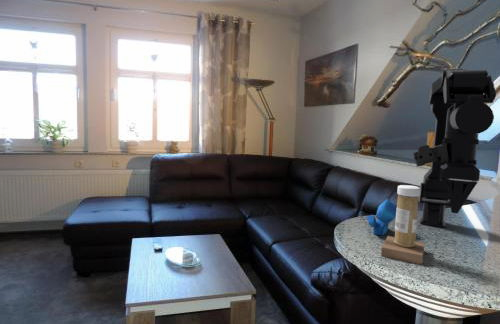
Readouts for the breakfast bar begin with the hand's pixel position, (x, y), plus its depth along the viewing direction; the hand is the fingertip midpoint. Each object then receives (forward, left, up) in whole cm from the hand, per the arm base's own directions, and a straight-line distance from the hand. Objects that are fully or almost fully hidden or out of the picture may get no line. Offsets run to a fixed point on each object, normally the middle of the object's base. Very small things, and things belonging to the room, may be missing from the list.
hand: (454, 208), depth 69 cm
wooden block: (0, -9, -12) cm, 15 cm away
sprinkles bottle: (0, -9, -10) cm, 13 cm away
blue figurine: (-13, -16, -12) cm, 24 cm away
